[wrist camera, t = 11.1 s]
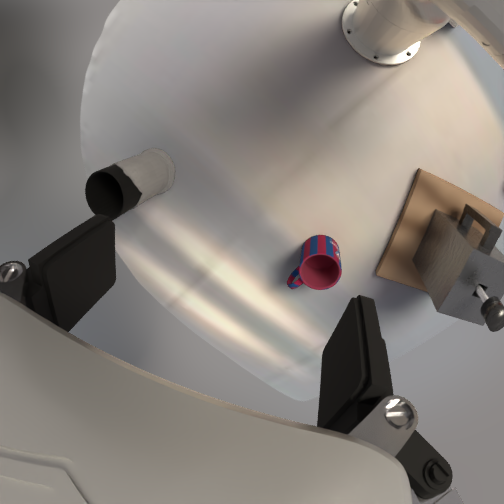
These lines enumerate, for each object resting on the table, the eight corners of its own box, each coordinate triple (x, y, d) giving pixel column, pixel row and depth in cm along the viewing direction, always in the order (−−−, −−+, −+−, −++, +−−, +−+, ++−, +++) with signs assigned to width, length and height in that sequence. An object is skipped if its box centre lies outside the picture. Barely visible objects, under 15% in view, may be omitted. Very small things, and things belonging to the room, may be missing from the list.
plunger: (438, 217, 41) (497, 286, 23) (471, 232, 41) (532, 301, 22) (419, 257, 45) (461, 340, 27) (452, 270, 45) (498, 349, 26)
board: (418, 168, 40) (421, 169, 39) (500, 210, 39) (504, 213, 38) (375, 271, 50) (376, 275, 49) (455, 297, 49) (458, 302, 47)
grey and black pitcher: (184, 172, 49) (138, 197, 36) (141, 220, 56) (96, 255, 43) (152, 138, 48) (98, 153, 35) (113, 190, 54) (63, 217, 41)
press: (442, 190, 40) (484, 224, 27) (484, 211, 39) (528, 249, 26) (411, 259, 46) (437, 311, 33) (453, 275, 45) (482, 325, 32)
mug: (345, 258, 50) (348, 279, 45) (297, 281, 55) (294, 303, 49) (328, 228, 49) (329, 245, 43) (278, 253, 53) (273, 273, 47)
